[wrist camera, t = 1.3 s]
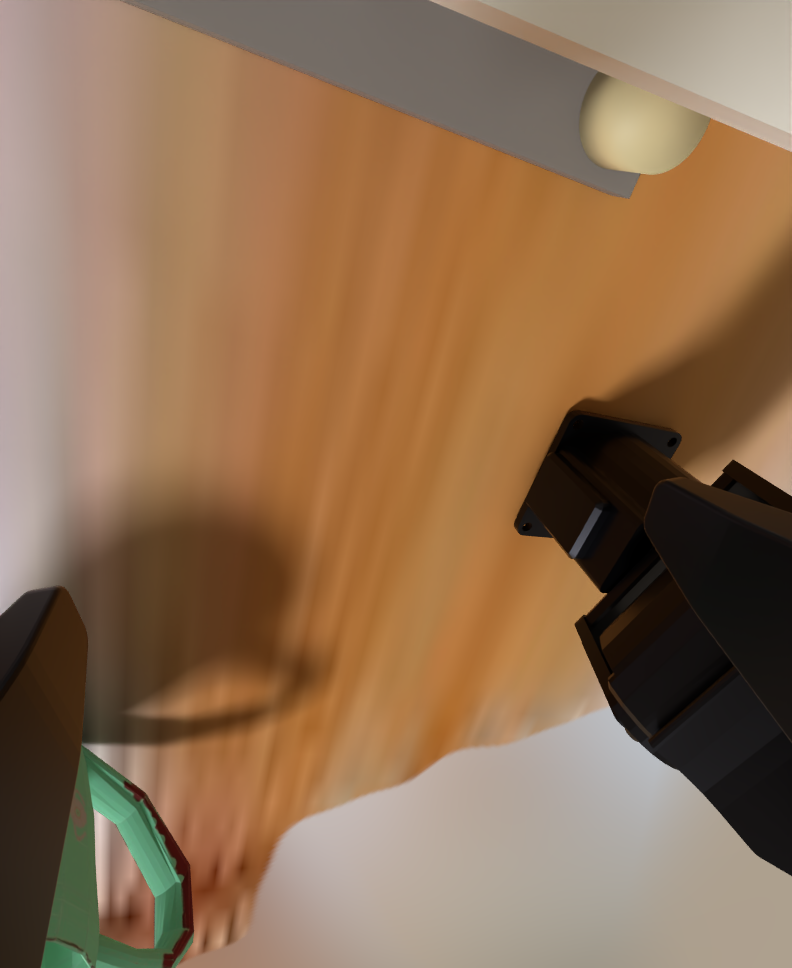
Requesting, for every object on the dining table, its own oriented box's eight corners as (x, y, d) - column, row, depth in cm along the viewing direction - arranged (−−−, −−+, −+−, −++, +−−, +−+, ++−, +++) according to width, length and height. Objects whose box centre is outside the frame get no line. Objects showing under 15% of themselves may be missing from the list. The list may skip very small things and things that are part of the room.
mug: (-171, 757, 23) (-378, 1094, 15) (-41, 618, 21) (-199, 921, 13) (138, 820, 31) (110, 1059, 23) (252, 724, 29) (264, 950, 21)
